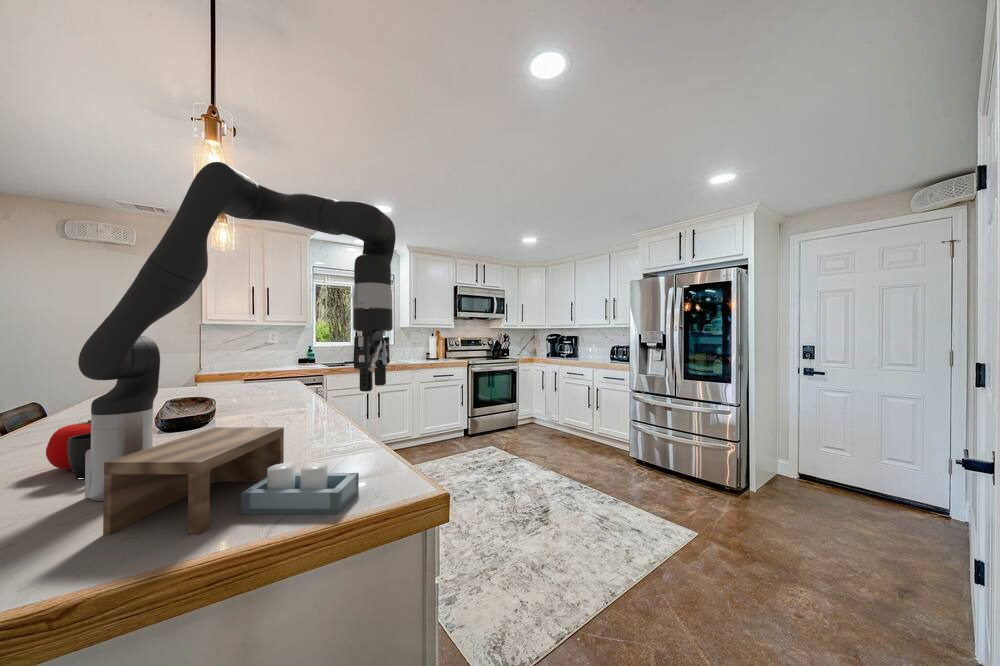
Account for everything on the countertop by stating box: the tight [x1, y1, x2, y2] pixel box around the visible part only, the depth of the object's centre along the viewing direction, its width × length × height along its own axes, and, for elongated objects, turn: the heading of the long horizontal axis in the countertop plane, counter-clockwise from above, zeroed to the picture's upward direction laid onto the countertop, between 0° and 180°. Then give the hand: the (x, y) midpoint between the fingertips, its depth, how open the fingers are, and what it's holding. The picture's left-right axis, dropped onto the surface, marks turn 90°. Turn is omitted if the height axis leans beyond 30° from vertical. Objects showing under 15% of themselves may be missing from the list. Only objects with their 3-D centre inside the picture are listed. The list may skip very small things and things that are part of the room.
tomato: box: [45, 419, 91, 470], centre depth 94 cm, size 13×14×12 cm
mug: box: [67, 433, 91, 479], centre depth 87 cm, size 8×12×10 cm
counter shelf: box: [102, 426, 285, 536], centre depth 73 cm, size 16×24×12 cm, turn 1°
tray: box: [240, 462, 360, 515], centre depth 73 cm, size 18×10×7 cm, turn 91°
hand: (373, 388), depth 74 cm, fingers open, 8 cm apart
